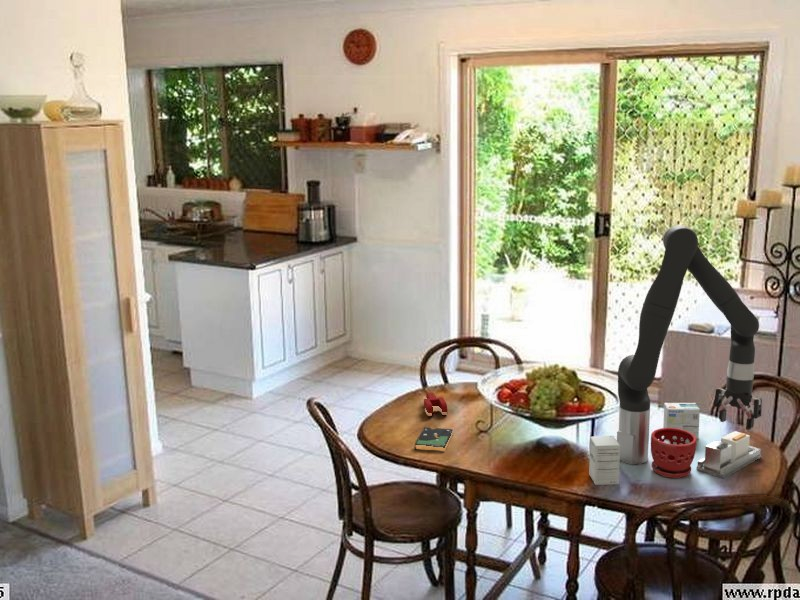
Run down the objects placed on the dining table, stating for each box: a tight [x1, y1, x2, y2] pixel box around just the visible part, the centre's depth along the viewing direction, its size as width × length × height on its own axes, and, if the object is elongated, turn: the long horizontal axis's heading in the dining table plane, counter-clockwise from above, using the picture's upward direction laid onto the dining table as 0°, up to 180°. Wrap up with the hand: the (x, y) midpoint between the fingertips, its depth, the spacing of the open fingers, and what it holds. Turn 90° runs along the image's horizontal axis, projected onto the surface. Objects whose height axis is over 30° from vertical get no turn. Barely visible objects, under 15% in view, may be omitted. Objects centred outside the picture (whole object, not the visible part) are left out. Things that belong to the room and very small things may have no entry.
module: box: [720, 430, 751, 463], centre depth 260 cm, size 8×5×8 cm, turn 130°
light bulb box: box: [662, 402, 701, 440], centre depth 281 cm, size 11×7×11 cm, turn 84°
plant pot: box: [650, 427, 698, 479], centre depth 253 cm, size 13×13×12 cm
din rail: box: [696, 440, 762, 479], centre depth 259 cm, size 22×9×9 cm, turn 130°
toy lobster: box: [423, 392, 448, 414], centre depth 312 cm, size 16×7×5 cm, turn 9°
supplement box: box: [588, 435, 620, 486], centre depth 250 cm, size 7×7×13 cm
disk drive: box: [414, 426, 454, 448], centre depth 283 cm, size 10×3×15 cm
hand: (735, 425), depth 258 cm, fingers open, 8 cm apart
